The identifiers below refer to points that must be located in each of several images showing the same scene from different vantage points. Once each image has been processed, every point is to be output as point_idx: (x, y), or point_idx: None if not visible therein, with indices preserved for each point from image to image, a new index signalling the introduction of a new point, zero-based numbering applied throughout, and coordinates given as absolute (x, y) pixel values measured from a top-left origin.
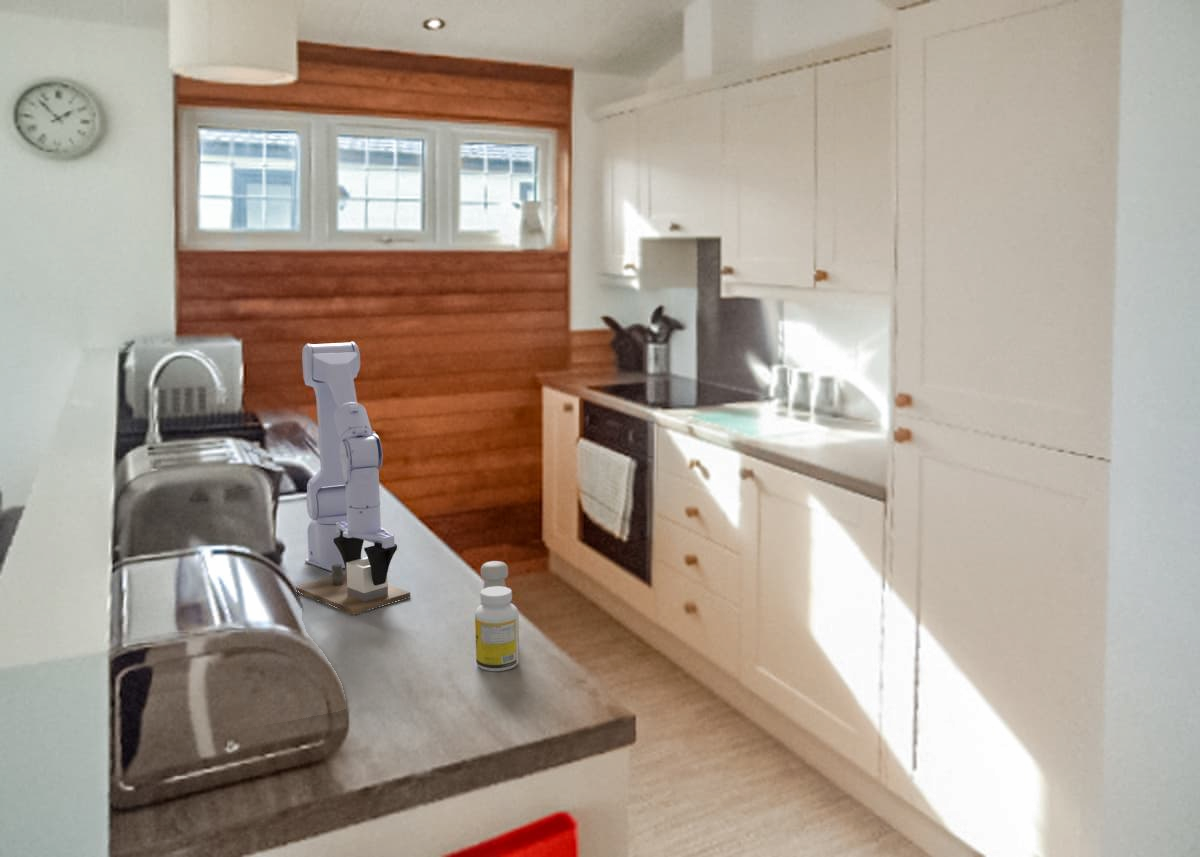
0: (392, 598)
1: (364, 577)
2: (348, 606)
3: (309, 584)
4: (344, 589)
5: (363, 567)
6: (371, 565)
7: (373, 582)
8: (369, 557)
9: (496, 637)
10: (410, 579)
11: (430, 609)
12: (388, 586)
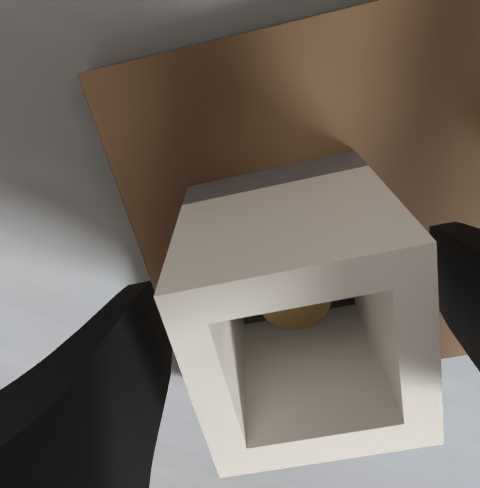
0: None
1: (167, 260)
2: (152, 69)
3: None
4: (463, 174)
5: (179, 308)
6: (65, 364)
7: (138, 287)
8: (5, 418)
9: None
10: (414, 458)
11: None
12: None
